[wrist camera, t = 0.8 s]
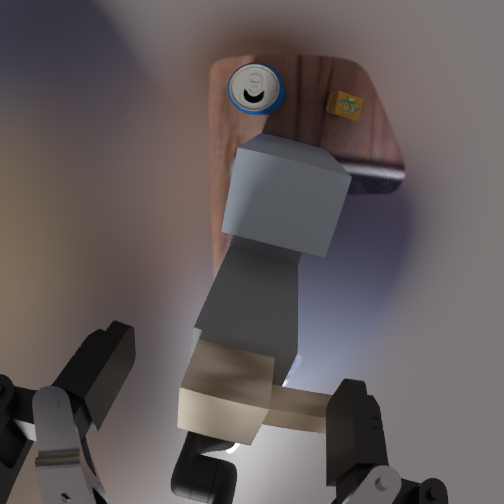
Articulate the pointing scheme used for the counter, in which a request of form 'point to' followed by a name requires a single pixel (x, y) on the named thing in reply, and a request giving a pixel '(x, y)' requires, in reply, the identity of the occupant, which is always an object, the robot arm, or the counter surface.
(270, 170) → the grey tall block
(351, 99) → the supplement box
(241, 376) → the mallet
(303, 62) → the counter surface
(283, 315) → the tall tower
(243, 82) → the beverage can
